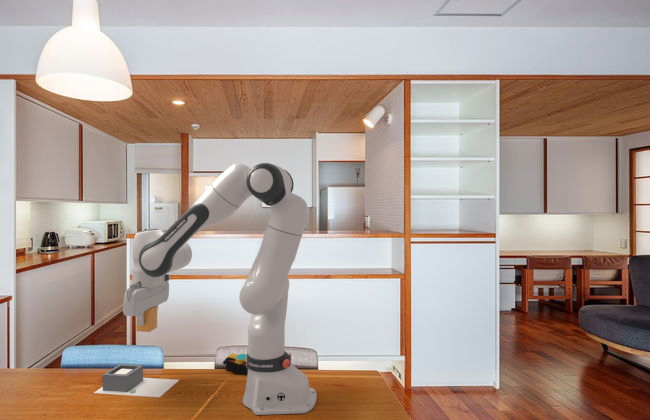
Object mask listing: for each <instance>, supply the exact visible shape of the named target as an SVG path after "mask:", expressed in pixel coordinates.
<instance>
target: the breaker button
mask: <svg viewBox="0 0 650 420" xmlns="http://www.w3.org/2000/svg"><path fill="white" fill-rule="evenodd" d="M132 370H133V369H120V370H119V371H117V372H116V373H114V374H124V375H127V374H128V373H130V372H131V371H132Z"/></svg>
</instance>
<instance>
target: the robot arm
mask: <svg viewBox="0 0 650 420" xmlns="http://www.w3.org/2000/svg"><path fill="white" fill-rule="evenodd" d="M293 190H294V179H293V177H292V175H291V174H290V173H289V172H288V170H285V169H284V168H283V167H281V166H280V165H277V164H272V163H269V162H262V163H258V164H255V165H254V166H253V167H251V168H250V167H249V166H248V165H246V164H243V163H238V162H237V163H233V164H231V165H230V166H229V167H227V168H226V169H224V171H222V173H221V174H219V175H218V177H217V178H215V180H213V182H212V183H211V184H210V185H209V186H208V188H206V190H205V191H204V192H203V193H202V195H201V196H200V197H199V198H198V199H197V200H196V201H195V202H194V203H193V204H192V205H191V206H190V207H189V208H188V210H186V211H184V213H183V214H182V215H181V216H180V217H179V218H177V219H176V221H175V222H174V223H172V225H171V226H170V227H169V228H168V229H167V230H166V231H165V232H163V231H162V229H159V228H149V229H143V230H139V231H137V232H136V233H135V235H134V237H133V243H132V260H133V267H132V270H131V271H132V272H131V273H132V275H131V276H132V277H131V278H132V279H131V281H132V282H131V284H129V286H128V288H127V289H126V291H125V293H124V297H123V303H122V313H123V315H124V316H126V317H134V316H135V318H136V321H137V320H138V325H139V326H142V325H144V324H145V323H146V322H145V321H146V319H144V317H143V315H144V311H146V310H148V309H150V308H153V307H155V306H157V311H158V310H159V305H161V304H163V303H165V302H168V301H169V300H168V299H169V296H170V283H169V281H170V280H171V275H170V274H169V273H172V272H175V271H178V270H181V269H183V268H185V267H187V266H188V265H189V264H190V262H191V260H192V257H193V251H192V248H191V246H190V244H189V243H188V241H189V240H190V239H192V237H193V236H194V235H195V234H197V233H198V232H200V231H201V230H203V229H206V228H208V227H210V226H213V225H216V224H220V223H222V222H224V221H226V220H227V219H229V218H231V216H232V215H234V213H236V212H237V210H239V208H240V207H241V206H242V205H243V203H245V201H246V200H248V198H250V197H251V196H253V197H255V198H256V199H258V200H259V201H260V202H262V203H263V204H265V205H266V206H269V207H270V215H269V219H268V221H267V225H266V228H265V232H264V235H263V237H262V240H261V244H260V247H259V251H258V252H257V255H256V257H255V259H254V261H253V263H252V265H251V267H250V270H249V273H248V275H247V276H246V280H245V282H244V284H243V286H242V288H241V289H240V292H239V303H240V305H241V307H242V308H243V310H244V311H245V312H247V313H249V314H251V315H250V322H249V324H248V328H247V329H248V330H247V351H248V352H247V353H246V354H247V358H246V368H247V372H248V373H247V375H246V384H245V391H244V393H243V394H244V395H243V397H242V404H243V405H244V406H245V407H247V408H249V409H250V410H251V411H252V413H253V414H254V415H259V416H260V415H261V416H262V415H263V416H264V415H287V414H288V415H290V414H307V413H308V412H310V411H311V410H312V409H313V408H314V407H315V405H316V403H317V399H318V396H317V391H316V390H315V388H313V387H310V382H309V378H308V377H307V375H306V374H305V373H304V372H302V371H301V370H300V369H298V367H296V366H294V365H293V364H292V352H289V353H288V352H287V351H286V350H285V329H286V328H285V327H286V317H287V311H288V310H287V309H288V301H289V298H288V297H289V291H290V278H289V277H288V276H289V273H290V271H291V269H292V267H293V264H294V261H295V260H296V256H297V253H298V249H299V247H300V243H301V240H302V237H303V235H304V234H303V233H304V232H305V231H304V230H305V226H306V220H307V216H308V215H307V214H308V204H307V201H306V200H305V199H303V198H302V197H301V196H300V195H297V194H295V193H293Z"/></svg>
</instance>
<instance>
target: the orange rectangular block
mask: <svg viewBox="0 0 650 420" xmlns="http://www.w3.org/2000/svg"><path fill="white" fill-rule="evenodd" d="M143 317H144V319H146V321H145V322H146V323H145V324H144V325H142V326H139V325H138V320H137V319H136V332H146V333H150V332H152V331H154V330H155V329H157V328H158V310H157V306H155V307H153V308H150V309H148V310H146V311H144V315H143Z"/></svg>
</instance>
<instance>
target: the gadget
mask: <svg viewBox="0 0 650 420" xmlns="http://www.w3.org/2000/svg"><path fill="white" fill-rule="evenodd" d="M246 358H247V353H243V352H242V353H239V354H237V353H233V352H232V353H230V354H229V355H228V356H226V358H224V360H223V361H222V364H223V365H225V370H226V371H229V372H231V373H234V372H237V373H236V374H238V373H239V374H244V375H245V374H247V373H248V372H247V368H246Z"/></svg>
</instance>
